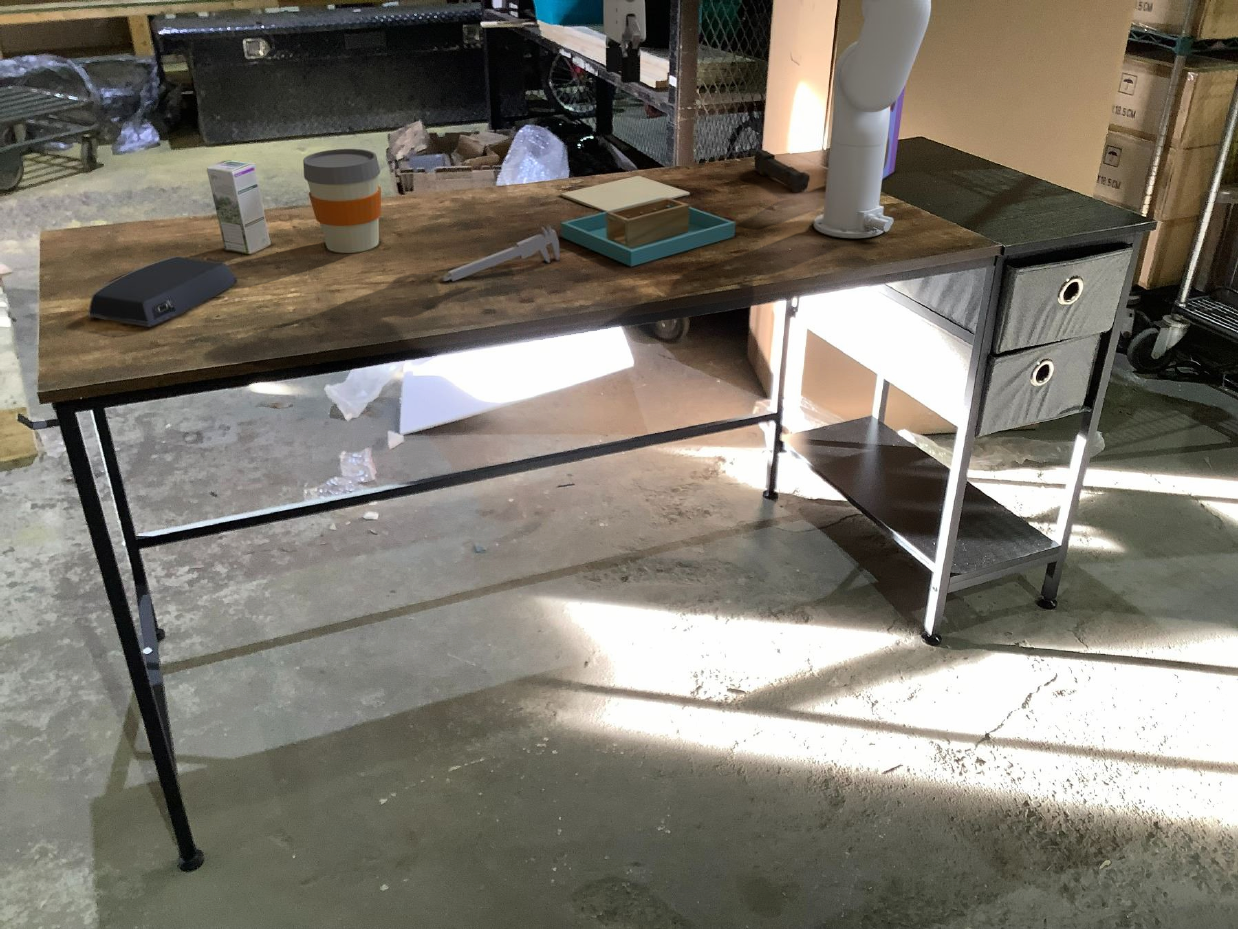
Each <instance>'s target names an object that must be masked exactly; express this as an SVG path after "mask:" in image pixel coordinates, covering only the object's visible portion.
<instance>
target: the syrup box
mask: <svg viewBox="0 0 1238 929" xmlns="http://www.w3.org/2000/svg"><path fill="white" fill-rule="evenodd" d="M206 172H207V176H208V181H209V186H210V189H211V195H212V199H213V203H214V208H215V212H216V216H217V221H218V226H219V230H220V233H221V238H222V243H223V247H224V251H229V252H234V253H240V254H246V255H251V254H254V253H257V252H259V251H261V250H263V249H265V248H268V247H269V246H271V245H272V244H271V238H270V235H269V234H270V233H269V228H268V224H267V220H266V213H265V209H264V205H263V199H262V195H261V189H260V184H259V179H258V174H257V169H256V165H255V163H254V162H249V161H248V162H247V161H240V160H239V161H238V160H232V159H226V160H222V161H220V162H217V163H214V164H212V165H210V166H207V167H206Z"/></svg>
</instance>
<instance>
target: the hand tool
mask: <svg viewBox="0 0 1238 929" xmlns="http://www.w3.org/2000/svg"><path fill="white" fill-rule="evenodd" d="M753 160H754V169H755V170H756V172H758V173H759V174H760V175H761V176H762V177H771V178H772V179H775V180H777V181H778V182H780V183H782V184H783V185H785V186H787V187H788V188H790V191H792V193H794V194H795V193H801V192H803V191H806V189H808V187H809V182H810V175H809V174H808V173H807V172H805V171H799V170H798V169H796V168H795V167H794V166H793V167H792V166H789V165H787V164H785V163H783V162H781V161H780V160H777V159H776V157H775V154H773V153H771V152H770V151H768V150H764V149H759V150H757V151H756V152H755V155H754V159H753Z"/></svg>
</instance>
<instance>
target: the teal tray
mask: <svg viewBox="0 0 1238 929" xmlns="http://www.w3.org/2000/svg"><path fill="white" fill-rule="evenodd" d="M659 199H662V198H659ZM655 200H658V199H655ZM651 201H654V200H651ZM647 202H650V201H647ZM643 203H646V202H643ZM639 204H642V203H639ZM635 205H638V204H635ZM631 206H634V205H631ZM627 207H630V206H627ZM672 207H676V206H673V205H670V208H672ZM623 208H626V207H623ZM619 209H622V208H619ZM615 210H618V209H615ZM611 211H614V210H611ZM607 212H610V211H607ZM560 229H561V230H560V232H561V233H560V234H561V238H563V239H566V240H567V241H570V242H572V243H574V244H577V245H579V246H582V247H585V248H587V249H588V250H591V251H594V252H596V253H597V254H601V255H603V256H606V257H608V258H610V259H612V260H614V261H617V262H620V263H621V264H625V265H627V266H629V267H634V266H638V265H642V264H645V263H649V262H651V261H655V260H660V259H662V258H666V257H669V256H672V255H676V254H679V253H683V252H686V251H689V250H692V249H696V248H700V247H703V246H706V245H710V244H713V243H717V242H720V241H724V240H727V239H731V238H735V235H736V234H735V232H736V222H735V221H732V220H729V219H726V218H724V217H720V216H718V215H715V214H712V213H709V212H706V211H703V210H700V209H697V208H695V207H691V206H689V232H688V233H684V234H680V235H677V236H673V237H670V238H666V239H662V240H659V241H655V242H652V243H648V244H644V245H641V246H637V247H634V248H627V247H625V246H622V245H620V244H617V243H615V242H612V241H610V240H607V239H606V212H604V211H602V212H599V213H595V214H591V215H586V216H583V217H578V218H575V219H570V220H567V221H563V222H561V223H560Z"/></svg>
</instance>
